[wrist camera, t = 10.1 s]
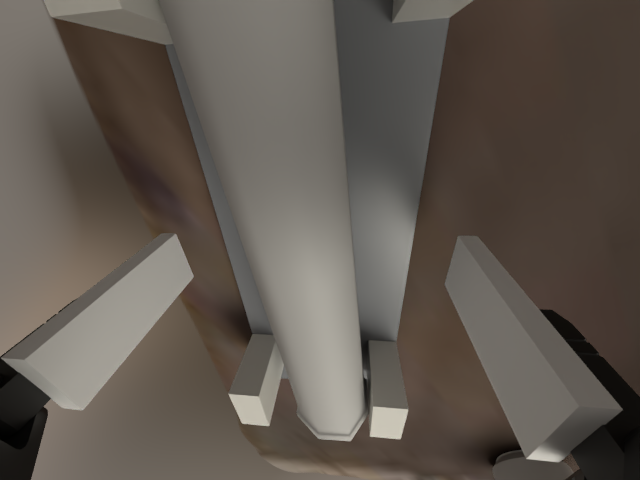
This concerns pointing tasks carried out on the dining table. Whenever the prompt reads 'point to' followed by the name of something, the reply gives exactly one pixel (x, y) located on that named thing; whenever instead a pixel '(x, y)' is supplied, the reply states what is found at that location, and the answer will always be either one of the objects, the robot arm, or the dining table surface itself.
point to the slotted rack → (363, 177)
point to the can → (528, 468)
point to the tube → (284, 182)
